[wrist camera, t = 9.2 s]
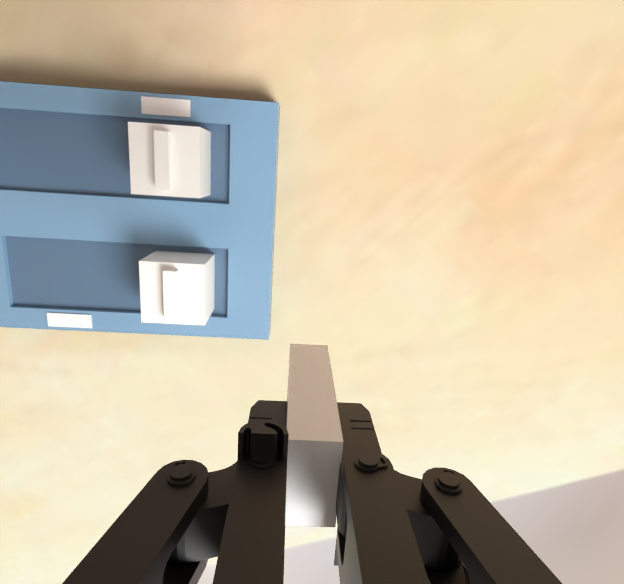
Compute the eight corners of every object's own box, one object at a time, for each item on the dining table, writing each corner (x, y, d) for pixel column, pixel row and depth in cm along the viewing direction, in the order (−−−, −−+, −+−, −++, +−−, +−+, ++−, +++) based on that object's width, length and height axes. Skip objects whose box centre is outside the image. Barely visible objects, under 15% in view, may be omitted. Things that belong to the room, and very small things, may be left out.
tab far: (157, 306, 31) (138, 325, 27) (156, 250, 30) (135, 262, 26) (214, 308, 32) (202, 328, 28) (214, 254, 31) (202, 266, 27)
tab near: (149, 191, 29) (127, 194, 25) (147, 127, 28) (123, 120, 24) (210, 194, 30) (197, 198, 26) (210, 131, 28) (197, 125, 24)
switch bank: (1, 316, 33) (-18, 326, 31) (-29, 83, 29) (-54, 76, 27) (270, 329, 34) (268, 340, 32) (279, 106, 30) (278, 102, 28)
